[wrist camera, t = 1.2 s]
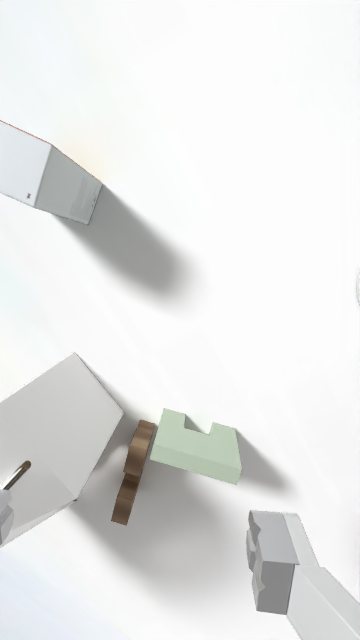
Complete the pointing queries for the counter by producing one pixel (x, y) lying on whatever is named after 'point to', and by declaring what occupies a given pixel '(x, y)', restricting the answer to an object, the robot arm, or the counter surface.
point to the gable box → (52, 440)
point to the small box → (44, 176)
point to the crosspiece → (197, 448)
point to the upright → (132, 472)
